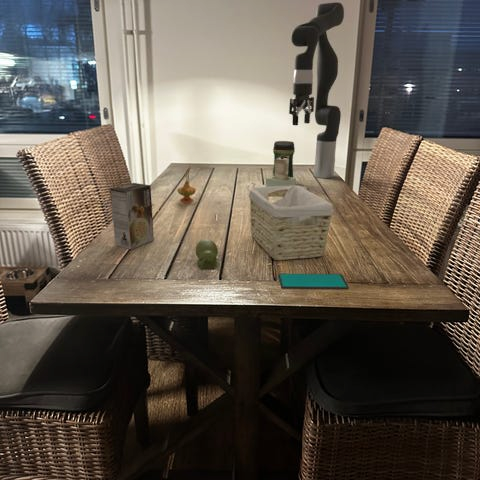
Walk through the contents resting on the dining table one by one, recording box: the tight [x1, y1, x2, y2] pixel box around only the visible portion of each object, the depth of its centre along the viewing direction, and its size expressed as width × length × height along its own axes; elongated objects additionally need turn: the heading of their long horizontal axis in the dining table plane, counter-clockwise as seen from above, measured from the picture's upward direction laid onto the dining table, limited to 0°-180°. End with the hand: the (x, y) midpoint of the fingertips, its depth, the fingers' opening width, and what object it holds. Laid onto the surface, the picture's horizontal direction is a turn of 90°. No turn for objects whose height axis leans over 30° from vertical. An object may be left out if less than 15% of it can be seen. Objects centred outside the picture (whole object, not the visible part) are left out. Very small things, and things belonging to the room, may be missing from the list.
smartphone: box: [278, 273, 350, 290], centre depth 101 cm, size 7×1×15 cm
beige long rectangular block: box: [274, 155, 289, 181], centre depth 184 cm, size 4×4×14 cm
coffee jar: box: [271, 140, 296, 178], centre depth 198 cm, size 10×8×19 cm
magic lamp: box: [177, 168, 196, 203], centre depth 165 cm, size 7×18×11 cm, turn 0°
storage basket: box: [248, 185, 334, 261], centre depth 121 cm, size 24×16×15 cm
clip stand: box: [257, 176, 308, 191], centre depth 185 cm, size 16×16×5 cm
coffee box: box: [109, 182, 155, 250], centre depth 120 cm, size 9×6×16 cm
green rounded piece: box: [195, 238, 219, 270], centre depth 110 cm, size 6×5×10 cm
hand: (301, 124), depth 180 cm, fingers open, 8 cm apart
